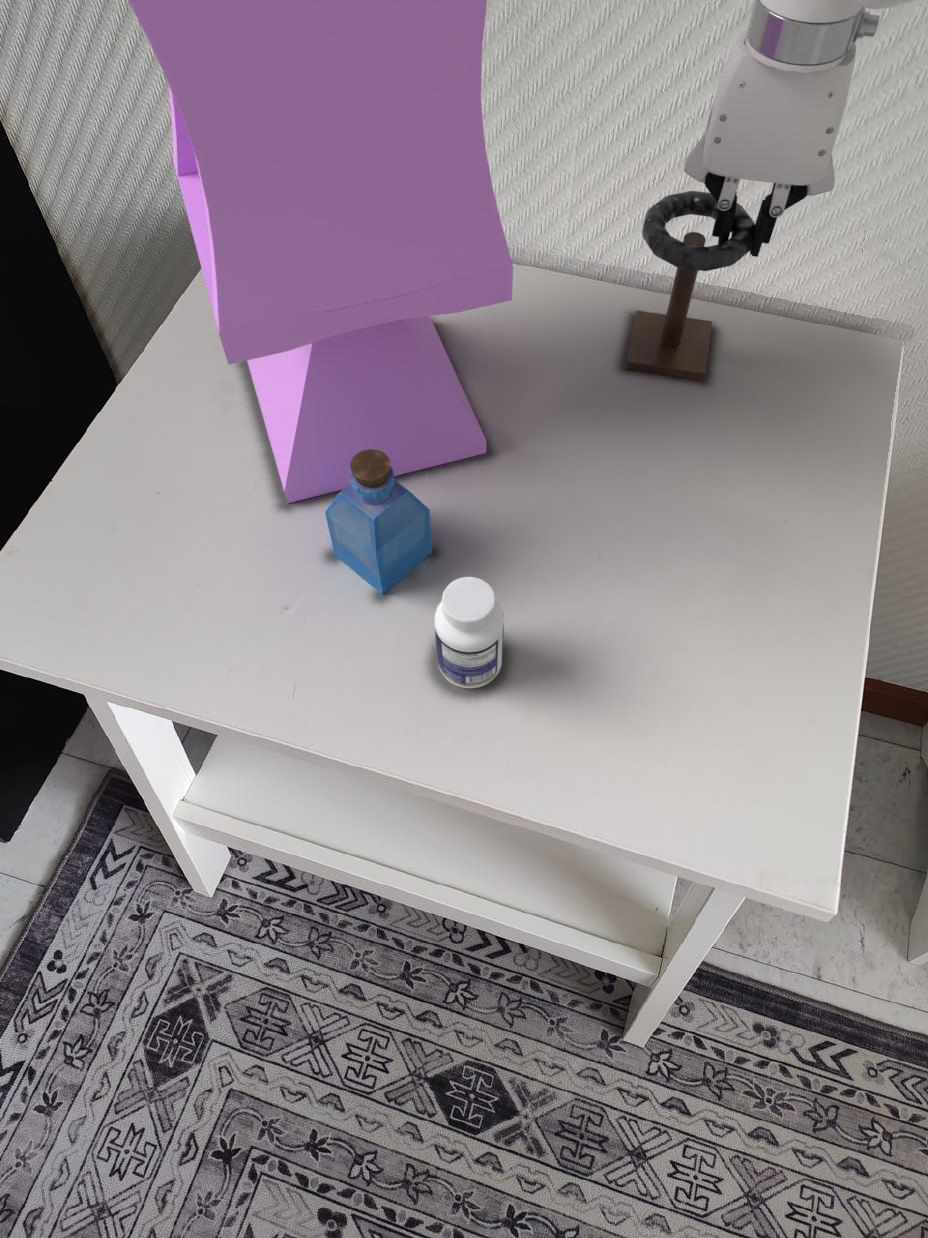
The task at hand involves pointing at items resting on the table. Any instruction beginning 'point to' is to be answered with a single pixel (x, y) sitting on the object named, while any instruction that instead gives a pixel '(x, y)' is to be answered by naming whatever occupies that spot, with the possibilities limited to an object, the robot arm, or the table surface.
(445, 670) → the pill bottle
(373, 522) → the perfume bottle
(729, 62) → the robot arm
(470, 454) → the purple table lamp
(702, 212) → the ring
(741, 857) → the table surface
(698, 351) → the stand
